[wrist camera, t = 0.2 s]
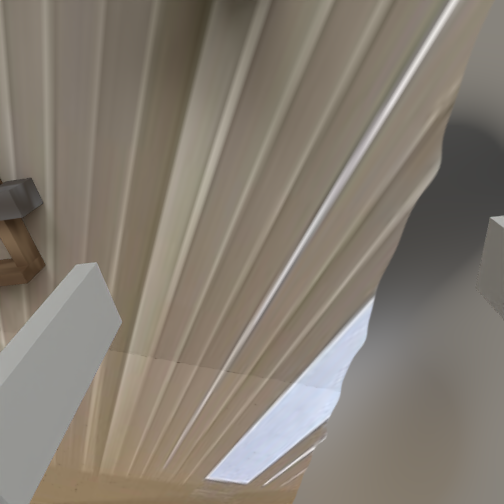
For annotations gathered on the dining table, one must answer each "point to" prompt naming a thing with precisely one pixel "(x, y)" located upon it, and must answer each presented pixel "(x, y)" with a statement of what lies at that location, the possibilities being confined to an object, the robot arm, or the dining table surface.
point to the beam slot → (18, 232)
